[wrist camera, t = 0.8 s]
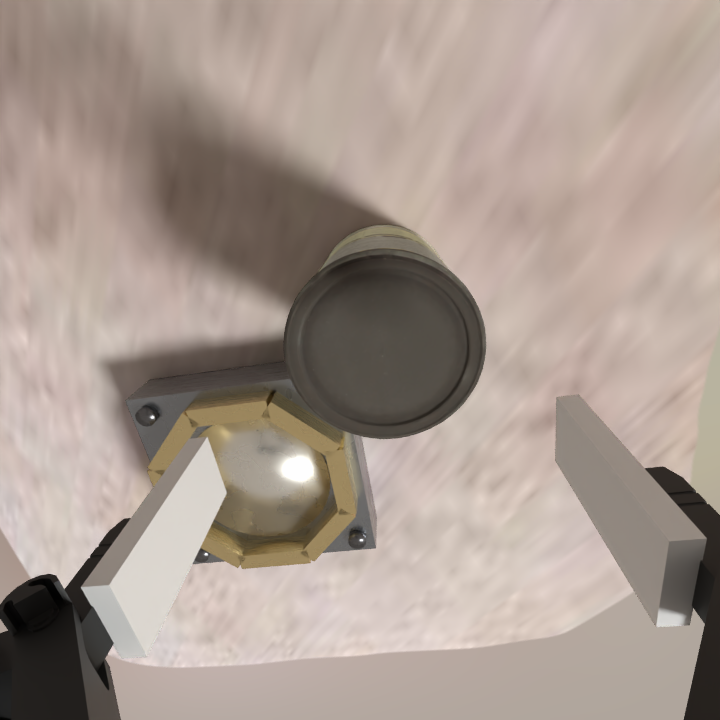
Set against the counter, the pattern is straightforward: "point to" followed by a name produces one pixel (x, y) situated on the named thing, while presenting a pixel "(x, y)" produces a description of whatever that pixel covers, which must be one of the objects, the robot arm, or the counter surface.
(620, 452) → the robot arm
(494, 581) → the counter surface
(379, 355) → the coffee can
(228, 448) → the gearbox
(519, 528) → the counter surface
